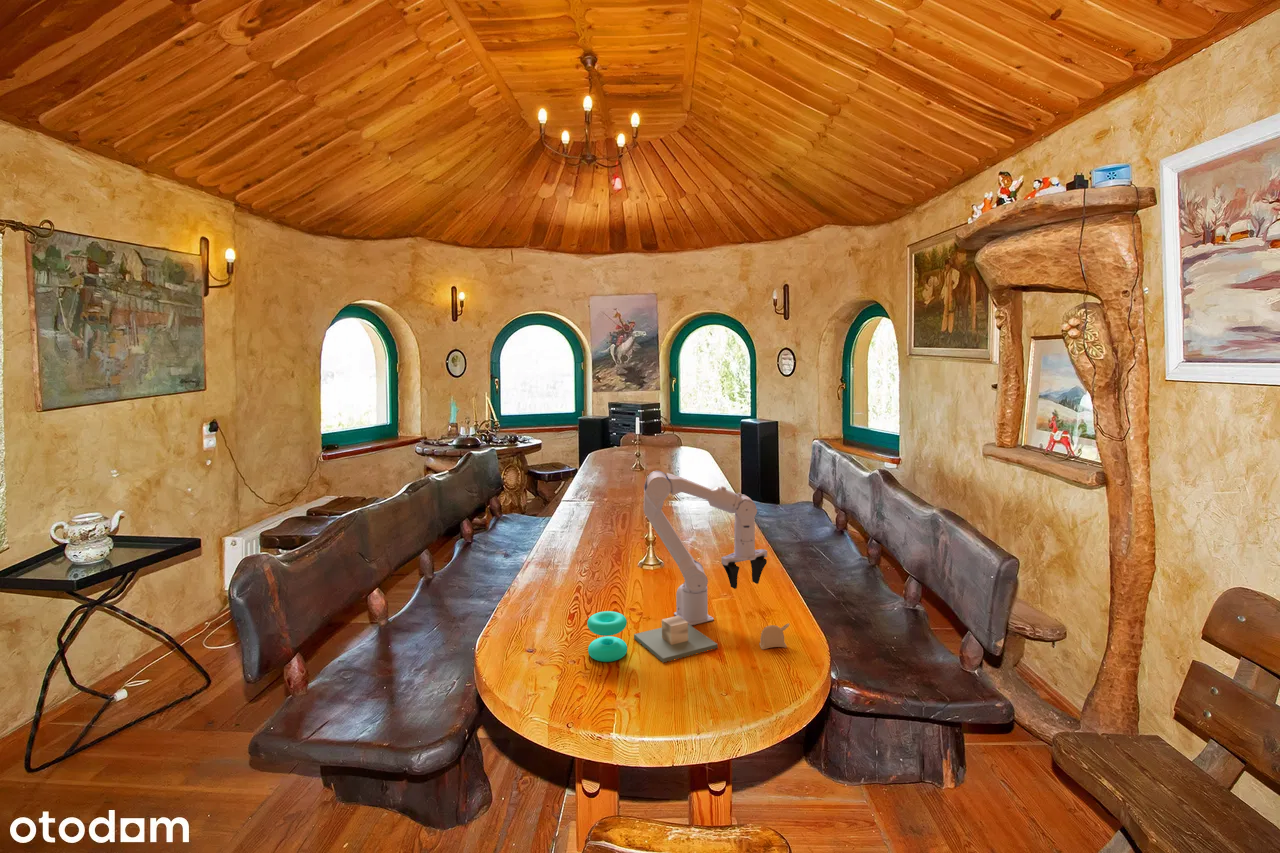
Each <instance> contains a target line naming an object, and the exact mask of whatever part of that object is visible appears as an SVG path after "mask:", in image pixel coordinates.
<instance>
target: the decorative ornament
mask: <svg viewBox="0 0 1280 853" xmlns="http://www.w3.org/2000/svg"><path fill="white" fill-rule="evenodd" d="M789 626H790V623H787V624H786V623H785V624H784V625H783V626H782V627H780V626H778V625H766V626H765V627H764V628H763V629H762V630H761V633H760V642H759V647H760V649H761V650H767V649H769V648H777V647H778V648H785V649H786V648H788V647H787V646H788V645H787V644H786V642H785V634H784V631H785V630H786V629H788V627H789Z"/></svg>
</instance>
